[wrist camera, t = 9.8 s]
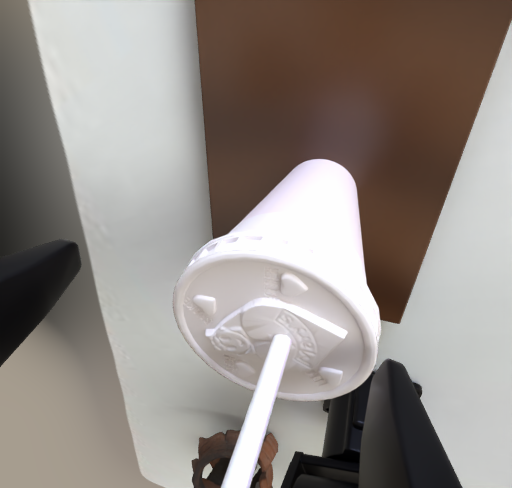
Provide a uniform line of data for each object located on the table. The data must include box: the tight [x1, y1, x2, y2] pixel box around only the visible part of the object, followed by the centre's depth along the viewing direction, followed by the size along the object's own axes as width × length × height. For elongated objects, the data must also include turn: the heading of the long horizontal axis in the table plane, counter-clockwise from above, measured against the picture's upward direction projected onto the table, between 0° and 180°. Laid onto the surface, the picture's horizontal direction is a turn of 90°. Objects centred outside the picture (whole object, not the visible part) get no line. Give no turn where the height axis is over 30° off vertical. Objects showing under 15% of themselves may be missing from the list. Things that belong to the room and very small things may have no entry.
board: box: [195, 0, 512, 324], centre depth 17 cm, size 20×12×2 cm, turn 0°
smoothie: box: [173, 159, 381, 488], centre depth 12 cm, size 6×6×14 cm
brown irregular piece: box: [192, 430, 278, 488], centre depth 37 cm, size 12×9×8 cm
